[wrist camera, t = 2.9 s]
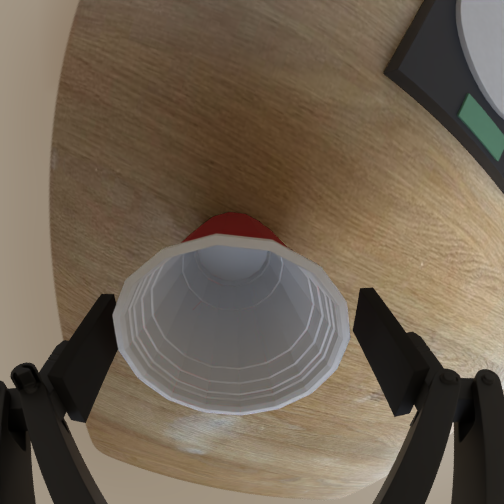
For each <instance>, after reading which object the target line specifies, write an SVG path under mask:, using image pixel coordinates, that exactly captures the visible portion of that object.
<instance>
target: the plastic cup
mask: <svg viewBox="0 0 504 504" xmlns="http://www.w3.org/2000/svg"><path fill="white" fill-rule="evenodd" d="M112 316H113V322H114V328H115V334H116V340H117V345H118V350H119V351H120V353H121V354H122V356H123V357H124V359H125V360H126V362H127V363H128V365H129V366H130V367H131V369H132V370H133V372H134V373H135V375H136V376H137V377H138V379H140V380H141V381H142V382H144V383H145V384H147V385H148V386H149V387H151V388H152V389H153V390H155V391H156V392H158V393H159V394H160V395H162V396H163V397H165V398H166V399H168V400H170V401H173V402H176V403H178V404H181V405H184V406H187V407H190V408H193V409H195V410H198V411H201V412H207V413H218V414H230V415H246V414H253V413H259V412H265V411H270V410H276V409H279V408H282V407H284V406H286V405H288V404H290V403H293V402H295V401H297V400H299V399H301V398H303V397H305V396H307V395H309V394H311V393H312V392H314V391H315V390H316V389H317V388H318V387H319V386H320V385H321V384H322V383H323V382H324V381H325V380H326V379H327V378H328V377H329V376H331V375H332V374H333V373H334V372H335V371H336V370H337V368H338V366H339V363H340V361H341V359H342V357H343V354H344V352H345V350H346V347H347V345H348V342H349V340H350V328H349V318H348V309H347V302H346V300H345V299H344V297H343V296H342V295H341V293H340V292H339V290H338V289H337V288H336V286H335V285H334V284H333V282H332V281H331V279H330V278H329V277H328V275H327V274H326V273H325V271H324V270H323V268H322V267H321V266H319V265H318V264H317V263H315V262H313V261H311V260H309V259H307V258H306V257H304V256H302V255H300V254H298V253H296V252H294V251H293V250H292V249H290V248H288V247H287V246H286V245H285V244H284V243H283V242H282V241H281V240H280V239H279V238H278V237H277V236H276V235H275V234H274V233H273V232H272V231H271V230H270V229H269V228H267V227H266V226H264V225H263V224H262V223H261V222H260V221H258V220H256V219H254V218H252V217H250V216H248V215H247V214H242V213H233V212H227V213H224V214H220V215H217V216H213V217H212V218H211V219H209V220H208V221H206V222H205V223H204V224H202V225H201V226H200V227H199V228H197V229H196V230H195V231H194V232H192V233H191V234H190V235H189V236H188V237H187V238H186V239H185V240H184V241H182V242H181V243H179V244H176V245H172V246H169V247H165V248H163V249H162V250H160V251H159V252H158V253H157V254H156V255H154V256H153V257H152V258H151V259H150V260H148V261H147V262H146V263H145V264H144V265H142V266H141V267H140V268H139V269H138V270H136V271H135V272H134V273H133V274H132V275H131V276H129V277H128V278H127V279H126V280H125V283H124V285H123V288H122V290H121V293H120V296H119V298H118V301H117V304H116V307H115V309H114V312H113V315H112Z"/></svg>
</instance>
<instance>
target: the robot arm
mask: <svg viewBox="0 0 504 504" xmlns="http://www.w3.org/2000/svg"><path fill="white" fill-rule="evenodd" d="M115 307H116V301H115V297H114V294H101V296H100V297H99V298H98V300H97V301H96V302H95V304H94V305H93V307H92V308H91V310H90V311H89V312H88V314H87V315H86V317H85V318H84V320H83V321H82V322H81V324H80V325H79V327H78V328H77V330H76V331H75V333H74V334H73V336H72V337H71V339H70V340H69V341H66V340H64V341H63V342H61V343H60V344H59V345H57V346H56V348H55V349H54V351H53V352H52V354H51V355H50V357H49V358H48V360H47V361H46V363H45V364H44V366H43V367H42V369H41V370H40V372H38V370H37V369H36V367H35V365H34V364H32V363H23V364H20V365H18V366H16V367H15V368H14V369H13V371H12V372H11V379H12V381H13V383H14V385H15V386H16V388H12V389H7V387H6V385H5V384H4V382H2V381H0V504H36V503H35V495H34V486H33V476H32V462H31V443H32V446H33V449H34V452H35V455H36V458H37V461H38V464H39V467H40V470H41V473H42V475H43V478H44V480H45V483H46V485H47V488H48V491H49V493H50V496H51V498H52V500H53V502H54V504H107V502H106V500H105V499H104V497H103V495H102V493H101V492H100V490H99V488H98V486H97V485H96V483H95V481H94V479H93V478H92V476H91V474H90V472H89V470H88V468H87V466H86V464H85V462H84V460H83V458H82V456H81V454H80V453H79V450H78V448H77V446H76V443H75V441H74V439H73V437H72V435H71V432H70V430H69V428H68V425H67V423H66V421H65V420H64V416H65V414H66V412H67V413H68V415H69V417H70V418H71V420H74V421H79V422H84V423H86V421H87V418H88V416H89V414H90V411H91V409H92V406H93V404H94V402H95V399H96V397H97V395H98V392H99V390H100V388H101V385H102V383H103V381H104V379H105V376H106V374H107V372H108V370H109V367H110V365H111V363H112V361H113V359H114V356H115V354H116V352H117V350H118V345H117V340H116V334H115V328H114V322H113V316H112V315H113V312H114V309H115ZM353 332H354V334H355V336H356V338H357V340H358V342H359V344H360V346H361V348H362V350H363V352H364V354H365V356H366V358H367V360H368V362H369V364H370V366H371V368H372V370H373V372H374V374H375V376H376V378H377V380H378V382H379V384H380V387H381V389H382V391H383V393H384V395H385V397H386V399H387V401H388V404H389V406H390V408H391V410H392V412H393V414H394V417H396V416H400V415H405V414H409V413H410V412H411V410H412V408H413V405H415V407H416V409H417V413H416V415H415V416H414V418H413V420H412V422H411V424H410V426H411V427H410V429H409V432H408V434H407V436H406V439H405V441H404V443H403V445H402V447H401V450H400V452H399V454H398V456H397V458H396V460H395V462H394V464H393V466H392V468H391V470H390V472H389V474H388V477H387V478H386V480H385V482H384V484H383V486H382V488H381V490H380V491H379V493H378V495H377V497H376V499H375V501H374V502H373V504H425V502H426V500H427V497H428V495H429V493H430V490H431V488H432V485H433V482H434V480H435V477H436V474H437V471H438V469H439V466H440V462H441V460H442V457H443V454H444V451H445V447H446V444H447V441H448V437H449V434H450V430H451V426H452V423H453V422H454V474H453V490H452V501H451V504H504V395H503V390H502V386H501V382H500V379H499V377H498V375H497V374H496V373H494V372H493V371H491V370H487V369H483V370H480V371H478V372H477V374H476V376H475V378H460V376H459V375H458V374H457V373H456V372H455V371H453V370H450V369H444V368H443V367H442V365H441V364H440V362H439V361H438V360H437V358H436V357H435V355H434V354H433V353H432V351H430V348H429V347H428V346H426V343H425V342H424V340H423V339H422V338H421V337H420V336H419V335H417V334H416V333H414V332H408V333H406V332H405V330H404V329H403V328H402V326H401V325H400V324H399V322H398V321H397V319H396V318H395V317H394V315H393V314H392V313H391V311H390V310H389V308H388V307H387V306H386V304H385V303H384V302H383V300H382V299H381V298H380V296H379V295H378V294H377V292H376V291H375V290H374V288H360V292H359V298H358V304H357V310H356V316H355V321H354V327H353Z"/></svg>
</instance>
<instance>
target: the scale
mask: <svg viewBox="0 0 504 504" xmlns="http://www.w3.org/2000/svg"><path fill="white" fill-rule="evenodd" d="M383 74H385V75H386V76H387V77H388V78H390V79H391V80H392V81H393V82H395V83H396V84H397V85H398V86H400V87H401V88H402V89H403V90H404V91H406V92H407V93H408V94H409V95H410V96H412V97H413V98H414V99H415V100H416V101H417V102H418V103H420V104H421V105H422V106H423V107H424V108H425V109H426V110H427V111H428V112H430V113H431V114H432V115H433V116H434V117H435V118H436V119H437V120H438V121H439V122H440V123H441V124H442V125H443V126H444V127H445V128H446V129H447V130H448V131H449V132H450V133H451V134H452V135H453V136H454V137H455V138H456V139H457V140H458V141H459V142H460V143H461V144H462V145H463V146H464V147H465V149H466V150H467V151H468V152H469V153H470V154H471V155H472V156H473V157H474V158H475V160H476V161H477V162H478V163H479V164H480V165H481V166H482V168H483V169H484V170H485V171H486V172H487V174H488V175H489V176H490V177H491V178H492V180H493V181H494V182H495V183H496V185H497V186H498V187H499V188H500V190H501V191H502V192H503V194H504V0H424V2H423V4H422V5H421V7H420V9H419V11H418V13H417V15H416V16H415V18H414V20H413V22H412V23H411V25H410V27H409V29H408V31H407V32H406V34H405V36H404V38H403V39H402V41H401V43H400V45H399V46H398V48H397V50H396V52H395V54H394V55H393V57H392V59H391V61H390V62H389V64H388V66H387V67H386V69H385V71H384V73H383Z"/></svg>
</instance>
